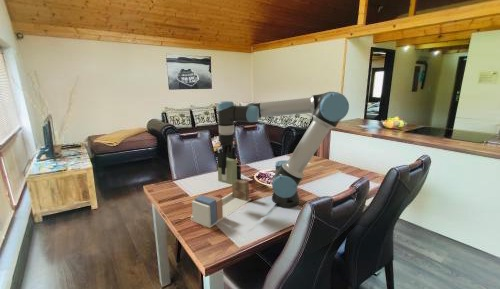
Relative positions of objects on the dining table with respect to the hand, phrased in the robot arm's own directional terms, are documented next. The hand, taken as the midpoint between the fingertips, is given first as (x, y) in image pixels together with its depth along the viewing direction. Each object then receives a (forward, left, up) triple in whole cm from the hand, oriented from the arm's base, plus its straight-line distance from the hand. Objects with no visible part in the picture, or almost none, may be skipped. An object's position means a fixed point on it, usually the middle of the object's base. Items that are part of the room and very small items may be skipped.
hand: (227, 178), depth 129 cm
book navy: (0, +17, -16) cm, 23 cm away
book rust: (0, +12, -16) cm, 20 cm away
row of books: (0, +4, -17) cm, 17 cm away
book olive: (0, 0, -2) cm, 2 cm away
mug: (+20, -33, -17) cm, 43 cm away
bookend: (0, -12, -16) cm, 19 cm away
